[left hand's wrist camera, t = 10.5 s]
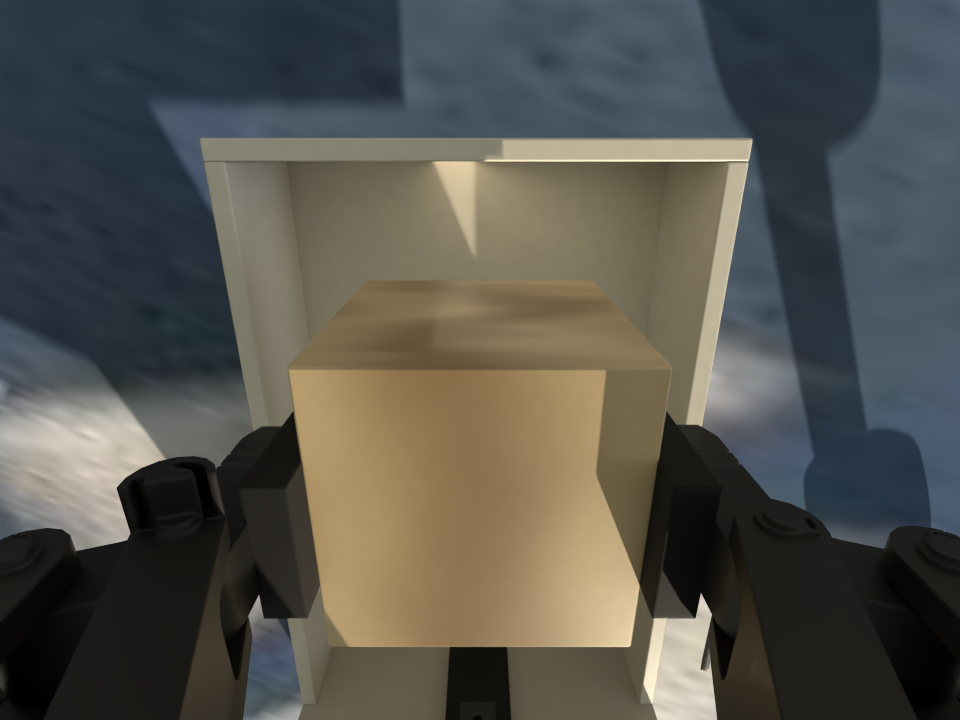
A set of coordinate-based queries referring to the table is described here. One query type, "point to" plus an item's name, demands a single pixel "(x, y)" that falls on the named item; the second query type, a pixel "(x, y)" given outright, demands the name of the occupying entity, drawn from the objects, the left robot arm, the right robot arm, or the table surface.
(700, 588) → the left robot arm
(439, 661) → the box
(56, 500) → the table surface
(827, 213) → the table surface
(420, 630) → the block
